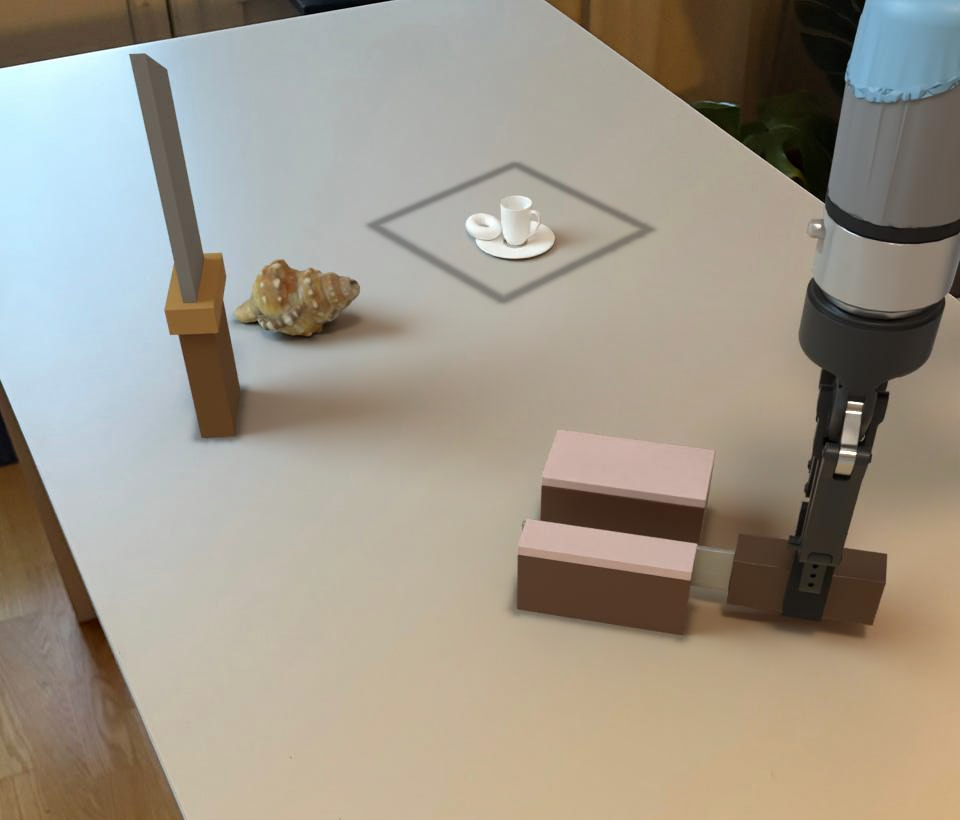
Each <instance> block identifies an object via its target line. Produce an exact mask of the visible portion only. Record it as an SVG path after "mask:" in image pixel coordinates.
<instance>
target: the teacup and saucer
mask: <svg viewBox="0 0 960 820" xmlns="http://www.w3.org/2000/svg"><path fill="white" fill-rule="evenodd" d="M532 215H535V216H536V217H537V221H536V220H532ZM542 220H543V217H542V214H541V213H540V212H539V211H538V210H536V209H533V200H531V199H530V197H527V196H523V195H509V196H506V197H504V198H502V199H501V201H500V219H498V218H497V217H496V216H494V215H492V214H489V213H483V212H481V213H480V212H479V213H474V214H472V215H470V216H468V217H467V218H466V221H465V228H466V231H467V232H468V234H469V235H471V236H472V237H473V238H474V239H475V243H476V245H477V247H478V248H479V249H480V250H481V251H483V252H484V253H487V254H489V255H491V256H494V257H497V258H502V259H509V260H510V259H513V260H514V259H515V260H517V259H518V260H519V259H529V258H532V257H533V258H534V257H536V256H539V255H542V254H544V253H546V252H547V251H549V250H550V249H551V248H552V247H553V246H554V244H555V241H556V237H555V234H554V233H555V232H553V230H552V229H551V228H550V227H548V226H547V225H545V224H543V223H542ZM504 241H506V243H507V244H508V245H510V246H513V247H514V246H516V247H515V248H513V247H509V246H506V245H505V244H504ZM525 242H526V244H525ZM524 244H525V245H524ZM522 245H524V246H522ZM517 246H518V247H517ZM519 246H521V247H519Z"/></svg>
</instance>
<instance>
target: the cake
mask: <svg viewBox="0 0 960 820" xmlns="http://www.w3.org/2000/svg"><path fill="white" fill-rule="evenodd" d="M716 451H717V450H715V449H709V448H703V447H702V448H701V447H692V446H685V445H677V444H670V443H664V442H663V443H662V442H656V441H648V440H642V439H641V440H640V439H634V438H625V437H619V436H610V435H603V434H597V433H588V432H581V431H575V430H568V429H557V430H556V434H555V436H554V439H553V443H552V445H551V448H550V450H549V454H548V456H547V460H546V463H545V465H544V469H543V471H542V475H541V482H540V483H541V485H540V486H541V487H540V512H539V513H540V517H539V518H540V519H539V521H545V522H552V523H559V524H565V525H572V526H579V527H586V528H593V529H600V530H606V531H613V532H620V533H627V534H634V535H641V536H647V537H654V538H661V539H668V540H675V541H682V542H688V543H695V544H697V545H700V544H701V541H702V536H703V531H704V525H705V520H706V514H707V509H708V502H709V498H710V497H709V496H710V490H711V485H712V477H713V471H714V466H715V465H714V464H715V460H716V459H715V458H716ZM700 546H701V545H700Z"/></svg>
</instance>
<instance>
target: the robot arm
mask: <svg viewBox="0 0 960 820" xmlns="http://www.w3.org/2000/svg"><path fill="white" fill-rule="evenodd" d="M856 29H857V30H856V33H855V37H854V42H853V46H852V50H851V54H850V58H849V60H848V62H847V65H846V70H845V75H844V81H845V85H844V92H843V97H842V103H841V108H840V115H839V122H838V127H837V133H836V139H835V145H834V151H833V157H832V161H831V168H830V173H829V179H828V183H827V187H826V193H825V198H824V205H823V208H822V218H812V219H811V220H809V222H808V224H807V228H806V234H807V235H808V237H809V238H812V239H817V241H816V247H815V251H814V257H813V262H812V267H811V274H812V277H811V279H810V280H809V281H808V284H807V287H806V292H805V296H804V303H803V306H802V313H801V318H800V323H799V327H798V342H799V343H798V344H799V346H800V348H801V350H802V352H803V353H804V355H805V357H807V358H808V359H809V360H810V361H811V362H812V363H813V364H814V365H816V366H817V367H819V368H821V369H820V371H819V372H820V373H819V380H818V394H817V399H816V408H815V411H816V412H815V422H816V426H815V429H814V430H815V431H814V435H813V439H812V449H811V450H812V451H811V454H810V458H809V460H808V461H807V465H806V466H807V467H806V468H807V470H808V474H809V475H808V478H807V481H806V482H805V484H804V488H803V492H804V498H807V499H808V501H803V500H801V504H800V509H799V514H798V519H797V523H796V526H795V528H796V529H795V531H794V535H789V536H788V539H787V540H788V546H787V549H789V550H795V552H794V557H793V561H792V566H791V570H790V575H789V579H788V584H787V588H786V593H785V597H784V602H783V606H782V612H780V613H781V614H780V617H783V618H788V619H789V618H790V619H797V620H803V621H810V622H812V621H813V622H819V623H821V622H822V619H823V618H822V616H823V612H824V608H825V604H826V600H827V596H828V593H829V589H830V585H831V581H832V577H833V573H834V569H835V567H838V566H839V565H840V562H842V558H843V554H842V552H843V548H845V544H846V541H847V537H848V534H849V530H850V527H851V523H852V519H853V516H854V512H855V508H856V505H857V500H858V498H859V494H860V491H861V487H862V483H863V480H864V478H865V475H866V473H867V472H866V471H867V469H868V466H869V464H871V463H872V461H873V448H874V443H875V439H876V435H877V431H878V427H879V425H881V423H883V422H884V420H885V417H886V413H887V410H888V405H889V401H890V400H889V399H890V391H889V390H887V388H888V385H889V381H891V380H895V379H898V378H899V379H900V378H902V377H906V376H908V375H911V374H912V373H914V372H916V371H918V370H919V369H920V368H922V367H923V366H924V365H925V364H926V363H927V361H928V360H929V359H930V357H931V355H932V353H933V349H934V347H935V343H936V339H937V335H938V332H939V329H940V325H941V322H942V318H943V315H944V312H945V308H946V296H947V295H949V293H950V291H951V289H952V287H953V284H954V280H955V277H956V273H957V271H958V267H959V263H960V0H865V2H864V6H863V10H862V12H861V14H860V17H859V21H858V24H857V28H856Z"/></svg>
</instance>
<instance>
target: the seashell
mask: <svg viewBox="0 0 960 820" xmlns="http://www.w3.org/2000/svg"><path fill="white" fill-rule="evenodd" d="M360 292H361V285H360V284H359V282H358V281H357V280H356V279H354V278H351V277H350V276H345V275H341V276H340V275H339V274H337V273H336V272H332V271H329V272H321V270H319V269H314V267H308V268H306V269H304V270H298V269H295V268H292V267H290V265H288V263H287V262H286V260H285V259H284V258H276V259H275V260H273V261H272V262H271V263H270V264H268V265H264V266H263V267H262V268H261V270H260V272H259V273H258V274H257V275H256V276H255V278H254V281H253V284H252V286H251V294H250V297H249V298H248V299H247V300H245V301H244V302H243V303H242V304H241V305H239V306H238V307H236V308H235V311H234V315H235V319H236V320H237V321H239V322H241V323H245V324H246V323H252V322H253V323H254V322H258V324H259V326H260V327H261V328H262V329H263V330H265V331H267V332H270V331H271V332H273V333H274V332H280V333H284V334H286V335H290V336H305V337H310V336H312V335H313V334H318V333H321V332H322V331H323V326H324V324H326V323H331V322H332V321H333V320H335V319H337V318H338V317H339V316H340V315H341V313H342V311H344V310H346V309H347V308H348V307H350V305H351V304H352V303H353V301H355V300H356V299H357V298H358V297H359V295H360V294H361V293H360Z"/></svg>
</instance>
